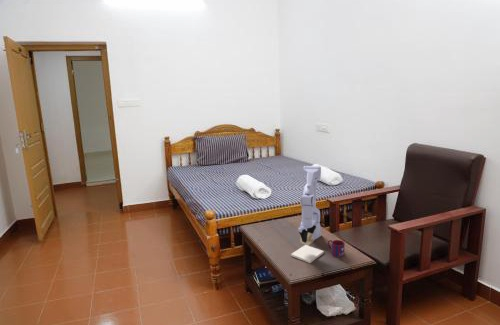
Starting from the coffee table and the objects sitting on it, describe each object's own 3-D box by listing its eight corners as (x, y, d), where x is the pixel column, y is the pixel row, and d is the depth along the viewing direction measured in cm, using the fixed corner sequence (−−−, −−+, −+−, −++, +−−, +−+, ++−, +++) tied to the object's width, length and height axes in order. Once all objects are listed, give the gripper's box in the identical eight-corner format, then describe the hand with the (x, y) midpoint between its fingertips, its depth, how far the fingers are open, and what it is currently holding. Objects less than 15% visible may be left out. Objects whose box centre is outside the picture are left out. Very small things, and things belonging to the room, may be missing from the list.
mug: (337, 258, 179) (338, 246, 177) (324, 251, 187) (324, 239, 186) (346, 255, 182) (347, 243, 181) (333, 247, 191) (333, 236, 189)
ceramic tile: (305, 246, 193) (305, 244, 193) (323, 253, 185) (323, 251, 185) (291, 256, 183) (291, 254, 183) (309, 263, 175) (309, 261, 175)
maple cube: (305, 239, 187) (305, 231, 185) (313, 242, 183) (313, 233, 182) (300, 242, 183) (300, 234, 182) (307, 245, 180) (308, 236, 179)
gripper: (308, 210, 187) (308, 233, 190) (293, 218, 177) (293, 242, 180) (319, 213, 183) (319, 237, 186) (304, 222, 172) (304, 246, 175)
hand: (307, 240), depth 183 cm, fingers closed on maple cube, 5 cm apart
